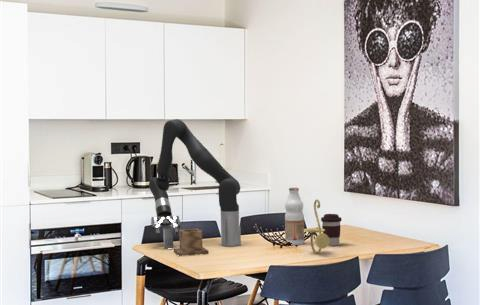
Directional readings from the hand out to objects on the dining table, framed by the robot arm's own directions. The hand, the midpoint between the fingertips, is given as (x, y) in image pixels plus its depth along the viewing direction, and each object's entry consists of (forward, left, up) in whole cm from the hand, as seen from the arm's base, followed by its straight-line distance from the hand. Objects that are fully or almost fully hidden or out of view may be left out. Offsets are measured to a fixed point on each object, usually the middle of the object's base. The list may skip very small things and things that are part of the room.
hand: (167, 234), depth 297 cm
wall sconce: (-61, +41, -7) cm, 74 cm away
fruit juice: (-62, +12, -7) cm, 64 cm away
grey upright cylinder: (0, +1, -7) cm, 7 cm away
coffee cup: (-77, +23, -7) cm, 81 cm away
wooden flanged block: (-8, +16, -7) cm, 19 cm away
